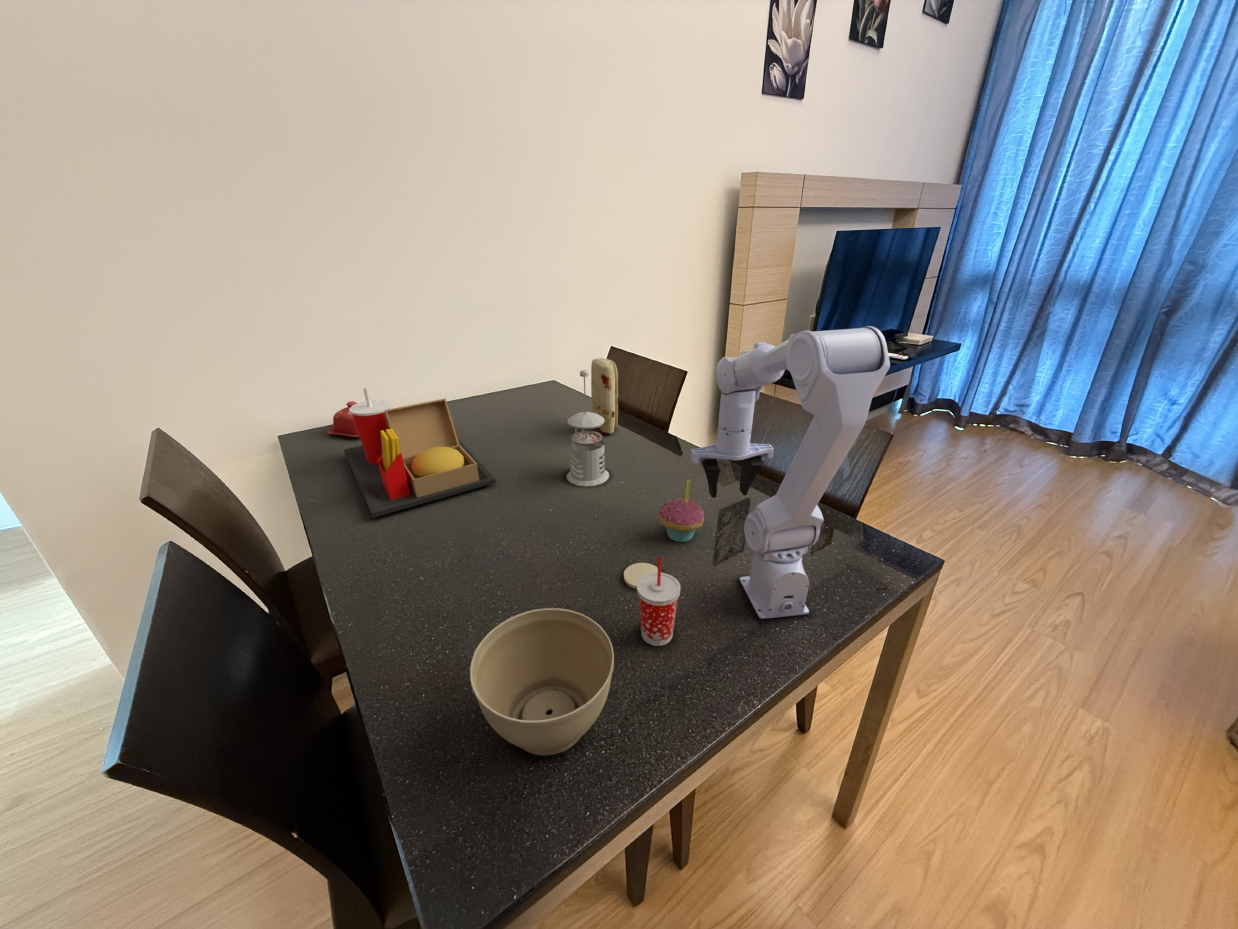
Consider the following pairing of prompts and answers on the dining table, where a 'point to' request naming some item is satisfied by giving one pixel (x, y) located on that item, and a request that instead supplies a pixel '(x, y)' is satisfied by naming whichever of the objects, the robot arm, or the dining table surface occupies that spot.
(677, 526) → the cupcake
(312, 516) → the dining table surface
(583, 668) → the planter bowl
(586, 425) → the french press
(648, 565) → the coaster
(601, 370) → the food model
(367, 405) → the fast food meal
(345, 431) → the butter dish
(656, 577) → the beverage cup
